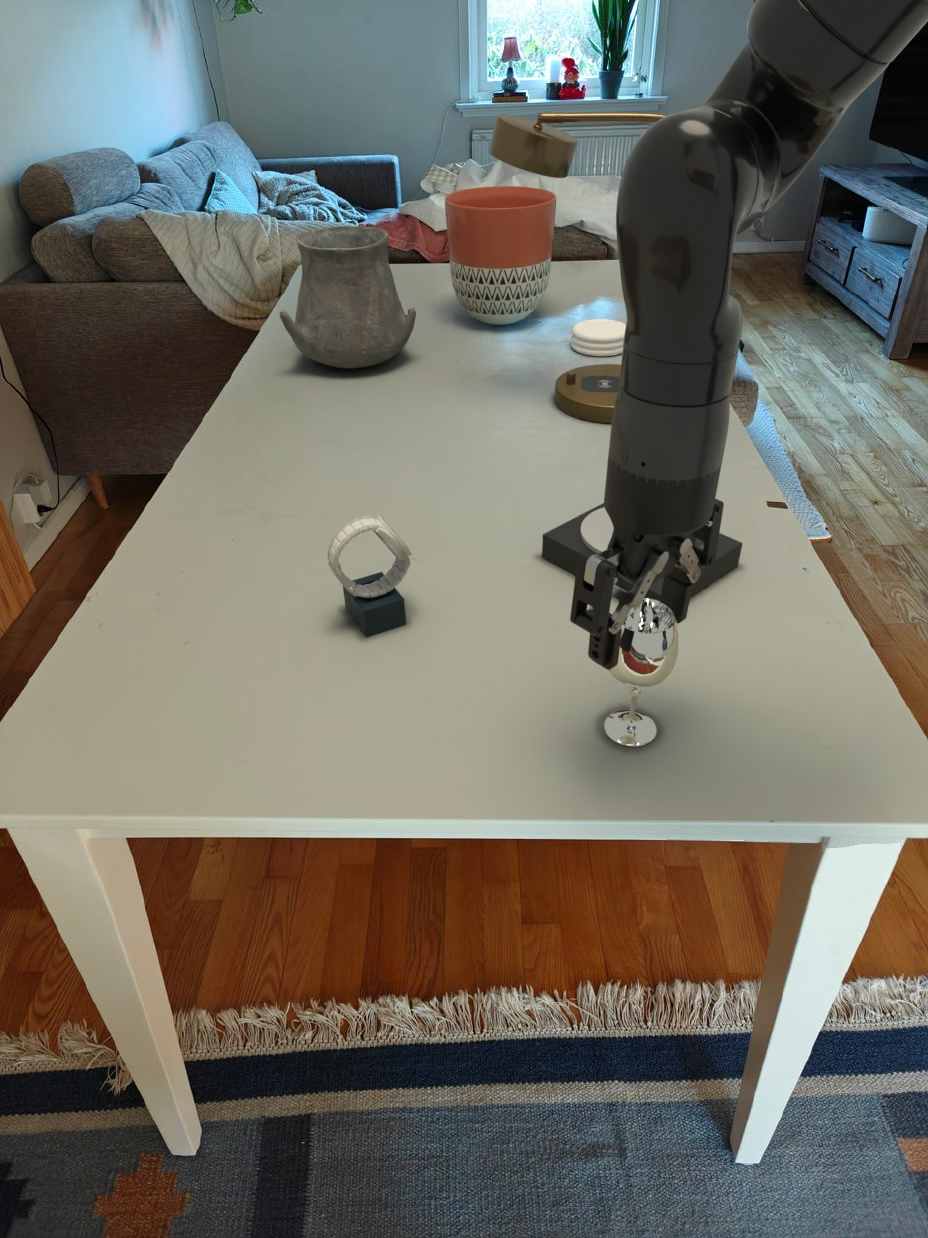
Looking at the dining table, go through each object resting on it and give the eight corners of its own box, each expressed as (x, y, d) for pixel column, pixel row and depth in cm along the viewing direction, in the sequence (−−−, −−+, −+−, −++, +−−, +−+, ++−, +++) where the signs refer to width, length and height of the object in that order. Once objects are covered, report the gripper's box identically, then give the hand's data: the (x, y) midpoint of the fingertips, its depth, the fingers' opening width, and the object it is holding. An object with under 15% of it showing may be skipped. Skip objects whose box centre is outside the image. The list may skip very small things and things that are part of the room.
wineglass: (590, 744, 71) (601, 631, 64) (602, 700, 76) (613, 589, 68) (660, 758, 70) (679, 643, 63) (668, 712, 74) (686, 599, 67)
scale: (738, 566, 92) (743, 538, 90) (657, 619, 85) (661, 590, 83) (623, 513, 102) (625, 486, 100) (541, 557, 95) (542, 529, 92)
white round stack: (614, 361, 143) (616, 340, 140) (561, 351, 147) (562, 331, 145) (637, 343, 149) (639, 323, 147) (586, 334, 154) (587, 314, 152)
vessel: (412, 332, 157) (405, 214, 145) (421, 376, 139) (414, 246, 127) (293, 339, 155) (276, 221, 143) (287, 385, 137) (267, 254, 125)
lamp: (495, 377, 138) (494, 105, 115) (664, 380, 135) (698, 102, 112) (484, 420, 124) (481, 121, 102) (672, 425, 121) (712, 119, 99)
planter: (428, 319, 163) (422, 196, 150) (506, 299, 172) (507, 181, 159) (492, 345, 150) (492, 213, 137) (573, 322, 159) (579, 196, 147)
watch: (423, 618, 86) (417, 523, 79) (349, 642, 83) (336, 546, 76) (400, 590, 90) (393, 498, 83) (329, 612, 87) (315, 519, 80)
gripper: (642, 506, 51) (617, 705, 61) (773, 436, 59) (731, 623, 68) (551, 465, 56) (541, 656, 65) (683, 404, 63) (656, 584, 73)
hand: (638, 639), depth 67 cm, fingers open, 8 cm apart
